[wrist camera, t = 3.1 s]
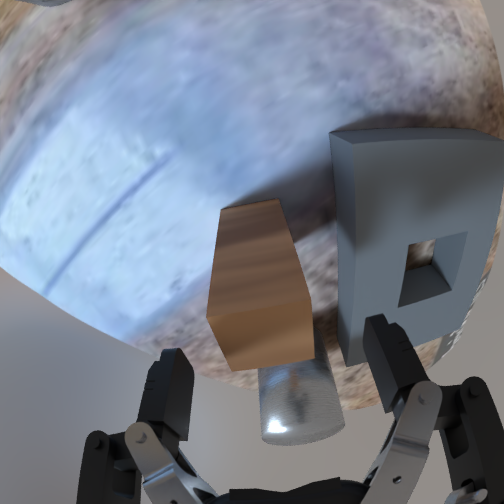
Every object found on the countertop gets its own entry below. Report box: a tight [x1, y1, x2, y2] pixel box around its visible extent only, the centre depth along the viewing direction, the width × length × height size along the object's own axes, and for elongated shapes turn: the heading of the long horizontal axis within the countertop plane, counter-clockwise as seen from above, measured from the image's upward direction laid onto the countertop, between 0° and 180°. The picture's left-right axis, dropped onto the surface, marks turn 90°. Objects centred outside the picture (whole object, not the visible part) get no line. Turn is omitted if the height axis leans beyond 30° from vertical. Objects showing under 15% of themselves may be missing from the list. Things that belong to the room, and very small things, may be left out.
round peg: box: [257, 327, 345, 446], centre depth 23 cm, size 7×7×10 cm
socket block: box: [329, 127, 504, 367], centre depth 19 cm, size 20×14×4 cm
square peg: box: [206, 198, 315, 372], centre depth 15 cm, size 4×4×10 cm
